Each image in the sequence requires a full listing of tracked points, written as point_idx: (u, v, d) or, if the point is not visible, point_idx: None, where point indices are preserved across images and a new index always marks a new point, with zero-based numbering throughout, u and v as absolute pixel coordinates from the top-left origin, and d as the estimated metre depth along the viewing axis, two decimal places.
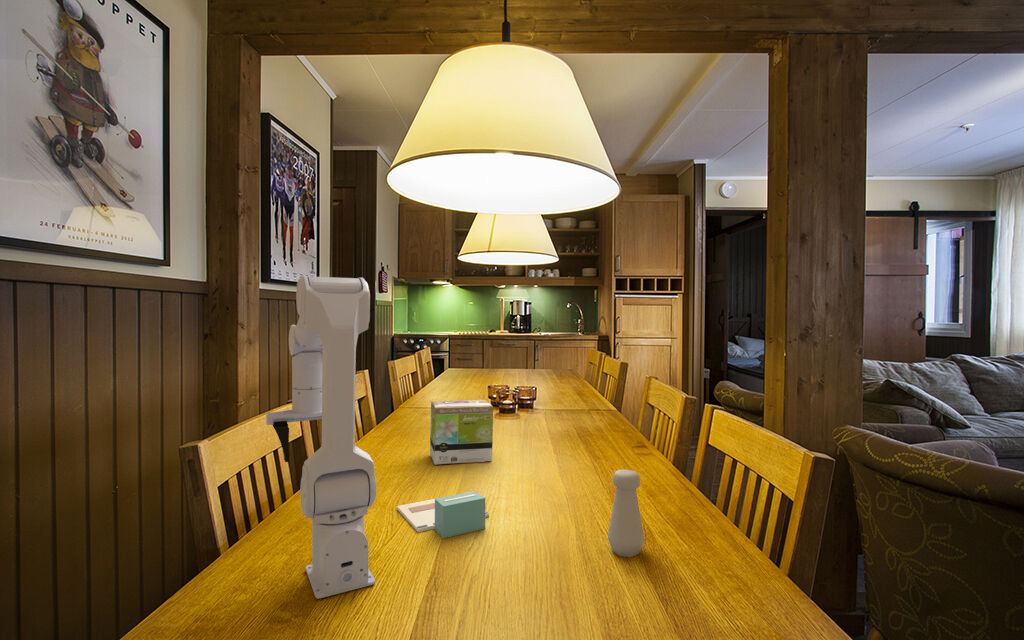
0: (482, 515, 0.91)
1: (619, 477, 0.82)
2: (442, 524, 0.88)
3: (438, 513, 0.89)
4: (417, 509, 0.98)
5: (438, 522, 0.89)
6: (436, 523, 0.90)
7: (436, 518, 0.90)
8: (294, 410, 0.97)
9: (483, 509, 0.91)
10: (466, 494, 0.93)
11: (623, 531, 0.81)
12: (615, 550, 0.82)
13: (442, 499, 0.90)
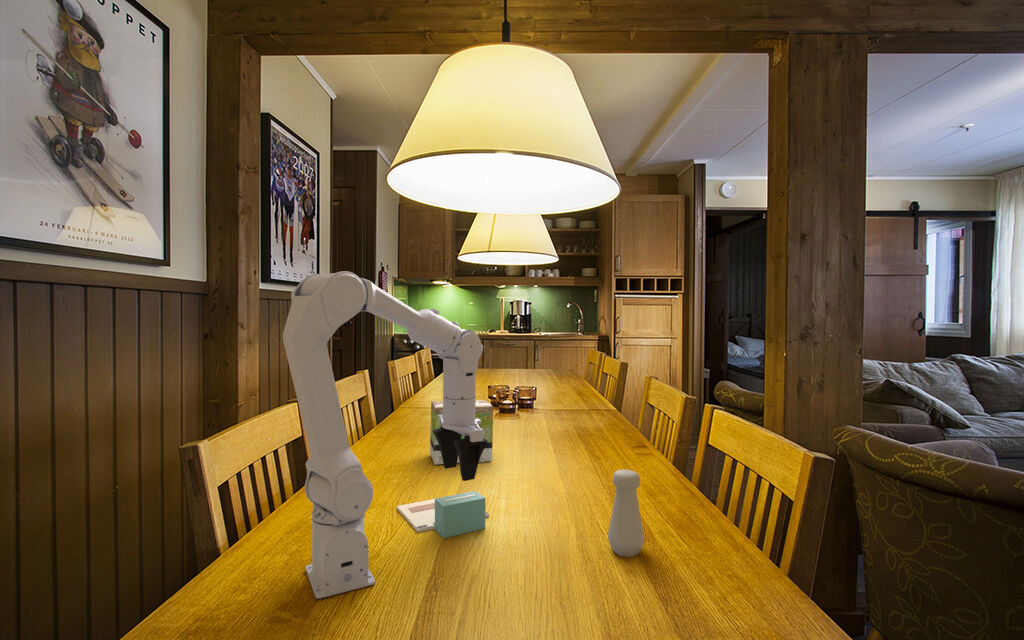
0: (482, 515, 0.91)
1: (620, 477, 0.82)
2: (442, 524, 0.88)
3: (438, 513, 0.89)
4: (417, 509, 0.98)
5: (438, 522, 0.89)
6: (436, 523, 0.90)
7: (436, 518, 0.90)
8: None
9: (483, 509, 0.91)
10: (466, 494, 0.93)
11: (623, 531, 0.81)
12: (615, 550, 0.82)
13: (442, 499, 0.90)
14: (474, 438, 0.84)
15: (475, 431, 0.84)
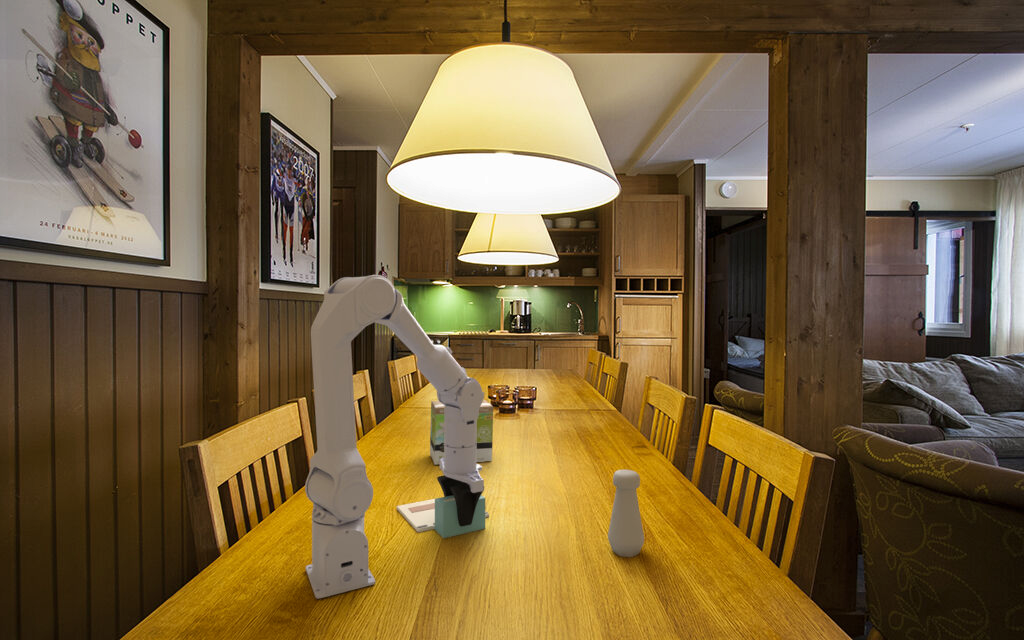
0: (482, 515, 0.91)
1: (620, 477, 0.82)
2: (442, 524, 0.88)
3: (438, 513, 0.89)
4: (417, 509, 0.98)
5: (438, 522, 0.89)
6: (436, 523, 0.90)
7: (436, 518, 0.90)
8: None
9: (483, 509, 0.91)
10: None
11: (623, 531, 0.81)
12: (615, 550, 0.82)
13: (442, 499, 0.90)
14: (475, 489, 0.84)
15: (476, 482, 0.84)
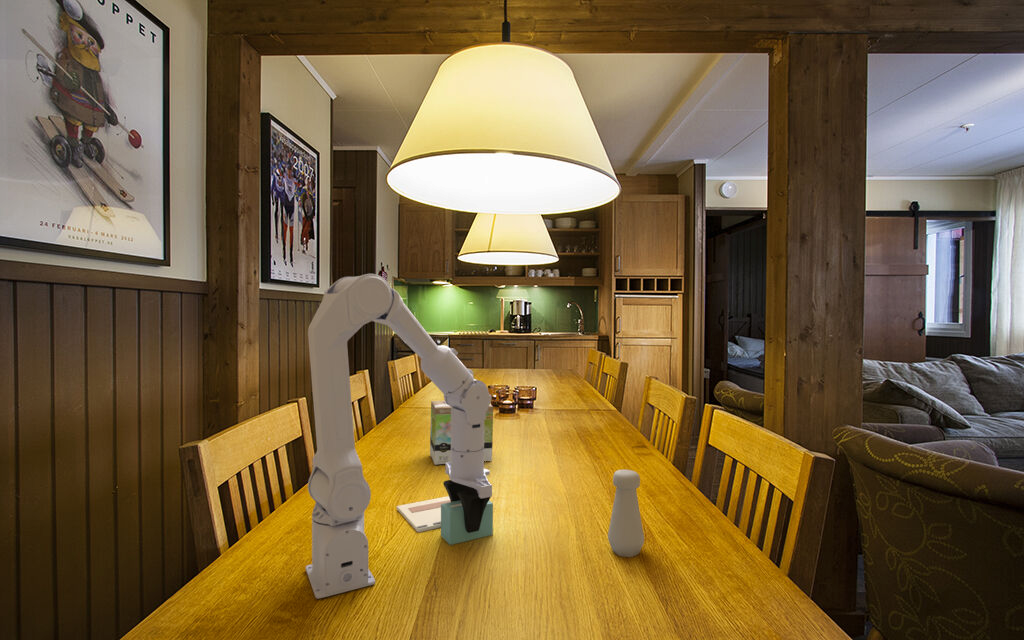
0: (489, 521, 0.89)
1: (620, 477, 0.82)
2: (449, 530, 0.85)
3: (444, 519, 0.87)
4: (417, 509, 0.98)
5: (445, 529, 0.87)
6: (442, 529, 0.88)
7: (442, 524, 0.88)
8: None
9: (491, 515, 0.89)
10: None
11: (623, 531, 0.81)
12: (615, 550, 0.82)
13: (448, 505, 0.88)
14: (483, 494, 0.82)
15: (484, 487, 0.82)
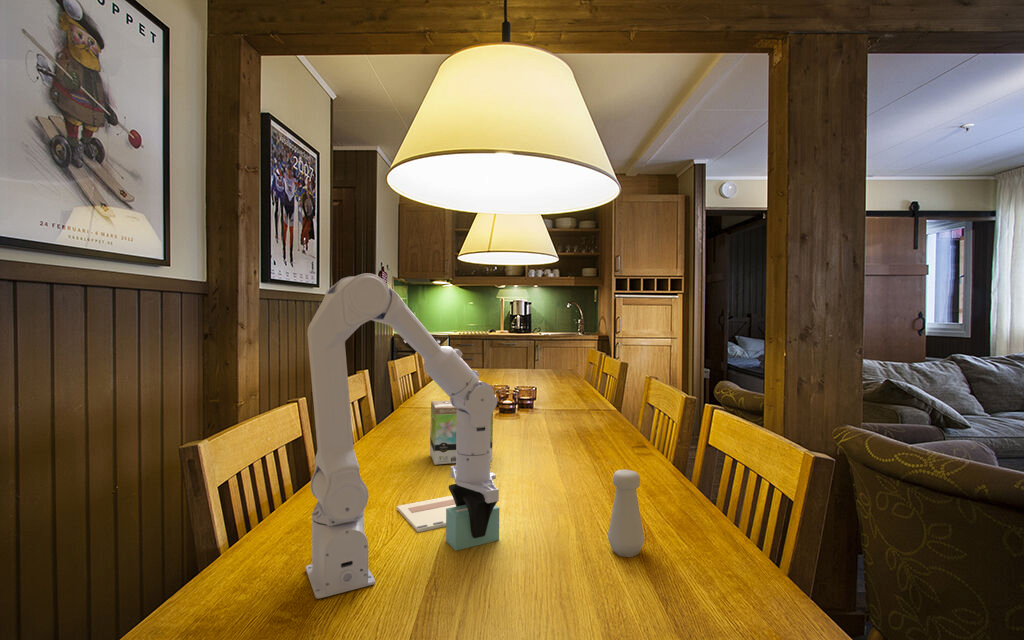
0: (496, 526, 0.87)
1: (620, 477, 0.82)
2: (454, 536, 0.83)
3: (450, 524, 0.85)
4: (417, 509, 0.98)
5: (450, 534, 0.85)
6: (448, 534, 0.86)
7: (448, 529, 0.86)
8: None
9: (497, 519, 0.87)
10: None
11: (623, 531, 0.81)
12: (615, 550, 0.82)
13: (454, 509, 0.86)
14: (489, 499, 0.80)
15: (490, 491, 0.80)
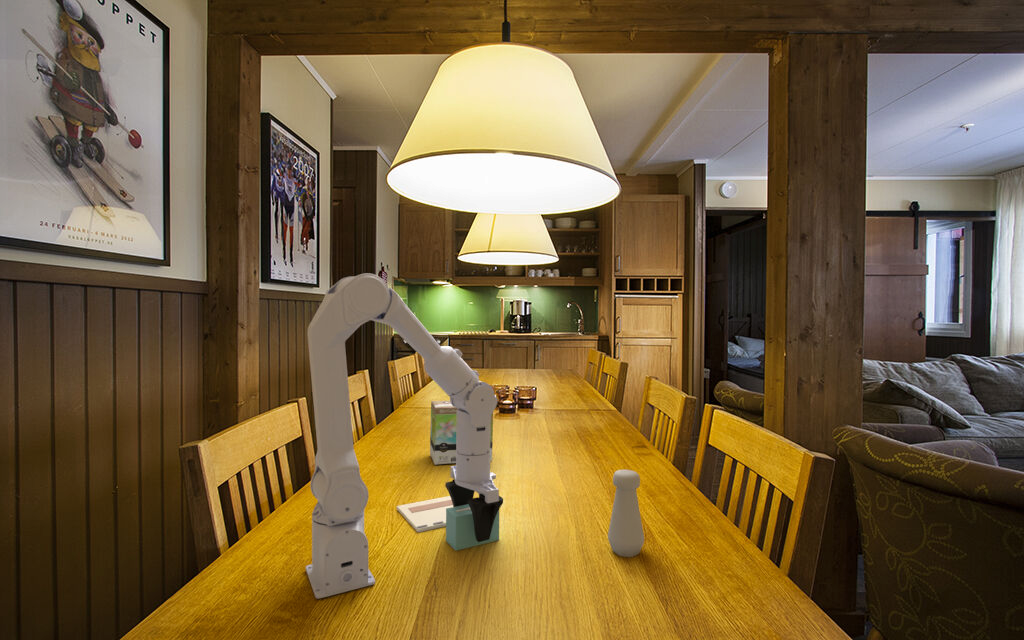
0: (496, 526, 0.87)
1: (620, 477, 0.82)
2: (454, 536, 0.83)
3: (450, 524, 0.85)
4: (417, 509, 0.98)
5: (450, 534, 0.85)
6: (448, 534, 0.86)
7: (448, 529, 0.86)
8: None
9: (497, 519, 0.87)
10: None
11: (623, 531, 0.81)
12: (615, 550, 0.82)
13: (454, 509, 0.86)
14: (489, 499, 0.80)
15: (490, 491, 0.80)
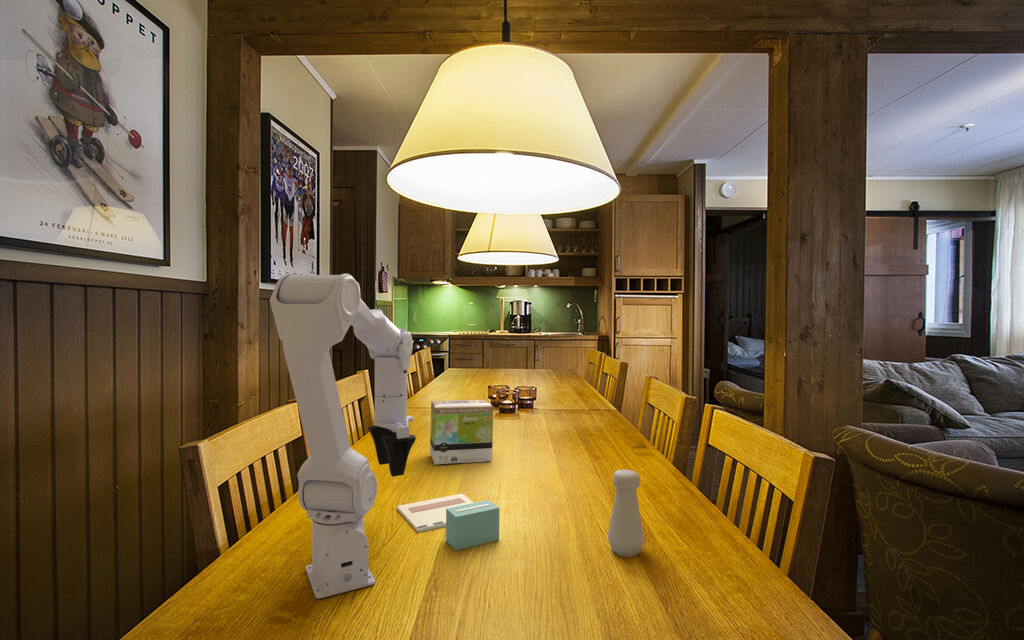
0: (496, 526, 0.87)
1: (620, 477, 0.81)
2: (454, 536, 0.83)
3: (450, 524, 0.85)
4: (417, 509, 0.98)
5: (450, 534, 0.85)
6: (448, 534, 0.86)
7: (448, 529, 0.86)
8: None
9: (497, 519, 0.87)
10: (479, 503, 0.88)
11: (623, 531, 0.81)
12: (615, 550, 0.82)
13: (454, 509, 0.86)
14: (400, 435, 0.86)
15: (401, 428, 0.86)
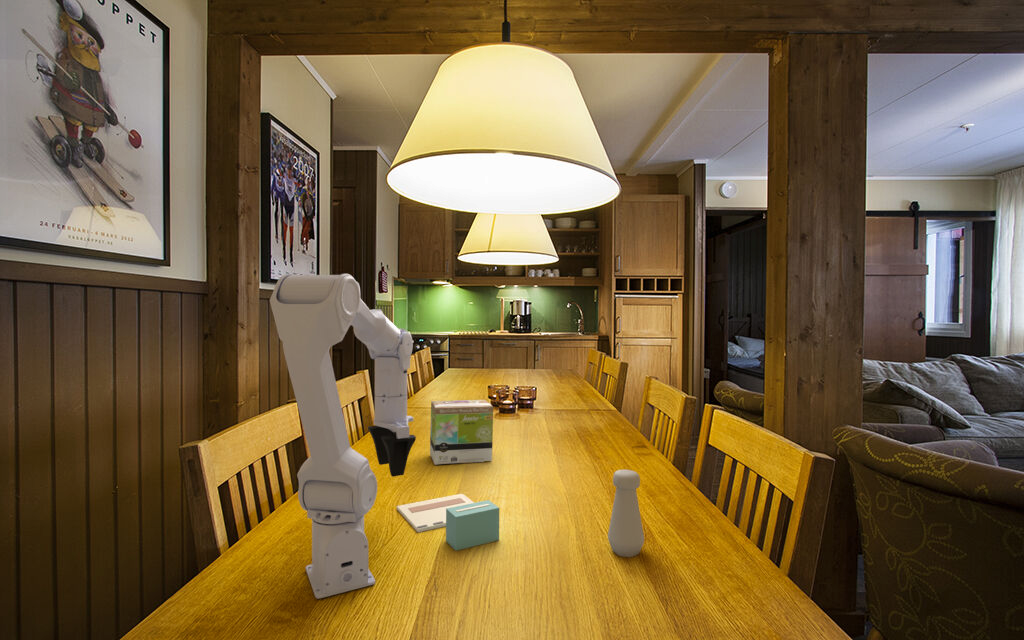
0: (496, 526, 0.87)
1: (619, 477, 0.82)
2: (454, 536, 0.83)
3: (450, 524, 0.85)
4: (417, 509, 0.98)
5: (450, 534, 0.85)
6: (448, 534, 0.86)
7: (448, 529, 0.86)
8: None
9: (497, 519, 0.87)
10: (479, 503, 0.88)
11: (623, 531, 0.81)
12: (615, 550, 0.82)
13: (454, 509, 0.86)
14: (400, 435, 0.86)
15: (401, 428, 0.86)
